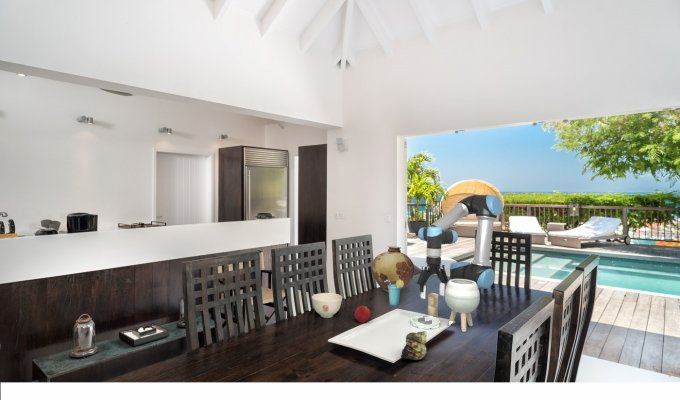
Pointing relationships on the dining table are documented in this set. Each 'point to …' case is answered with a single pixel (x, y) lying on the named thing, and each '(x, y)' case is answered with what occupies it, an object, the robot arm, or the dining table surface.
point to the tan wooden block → (433, 304)
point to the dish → (422, 322)
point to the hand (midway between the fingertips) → (432, 296)
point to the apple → (362, 314)
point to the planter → (462, 299)
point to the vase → (392, 268)
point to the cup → (394, 292)
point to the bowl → (327, 303)
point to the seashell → (415, 346)
